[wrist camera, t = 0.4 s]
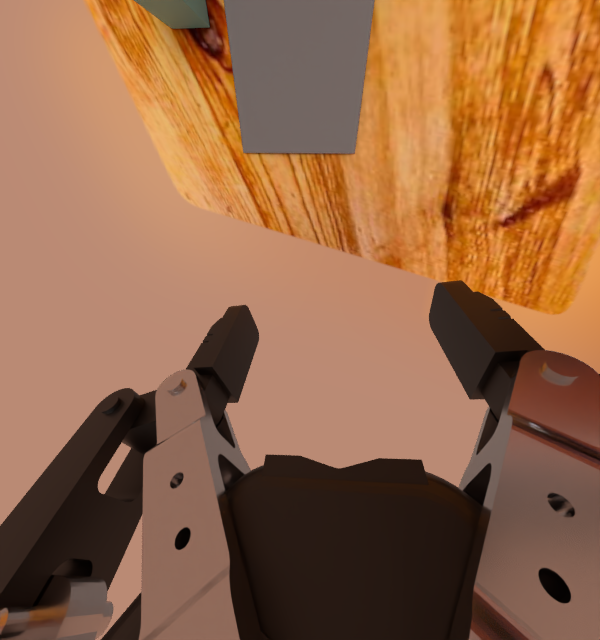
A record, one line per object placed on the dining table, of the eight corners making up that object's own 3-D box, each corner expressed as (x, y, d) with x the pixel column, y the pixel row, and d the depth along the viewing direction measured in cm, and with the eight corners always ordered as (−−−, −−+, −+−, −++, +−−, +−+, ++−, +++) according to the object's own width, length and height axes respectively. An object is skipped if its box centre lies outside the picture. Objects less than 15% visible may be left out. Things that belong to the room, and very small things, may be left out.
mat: (224, -8, 20) (222, -12, 20) (375, -16, 19) (376, -19, 19) (244, 152, 28) (243, 152, 28) (354, 153, 27) (354, 153, 27)
